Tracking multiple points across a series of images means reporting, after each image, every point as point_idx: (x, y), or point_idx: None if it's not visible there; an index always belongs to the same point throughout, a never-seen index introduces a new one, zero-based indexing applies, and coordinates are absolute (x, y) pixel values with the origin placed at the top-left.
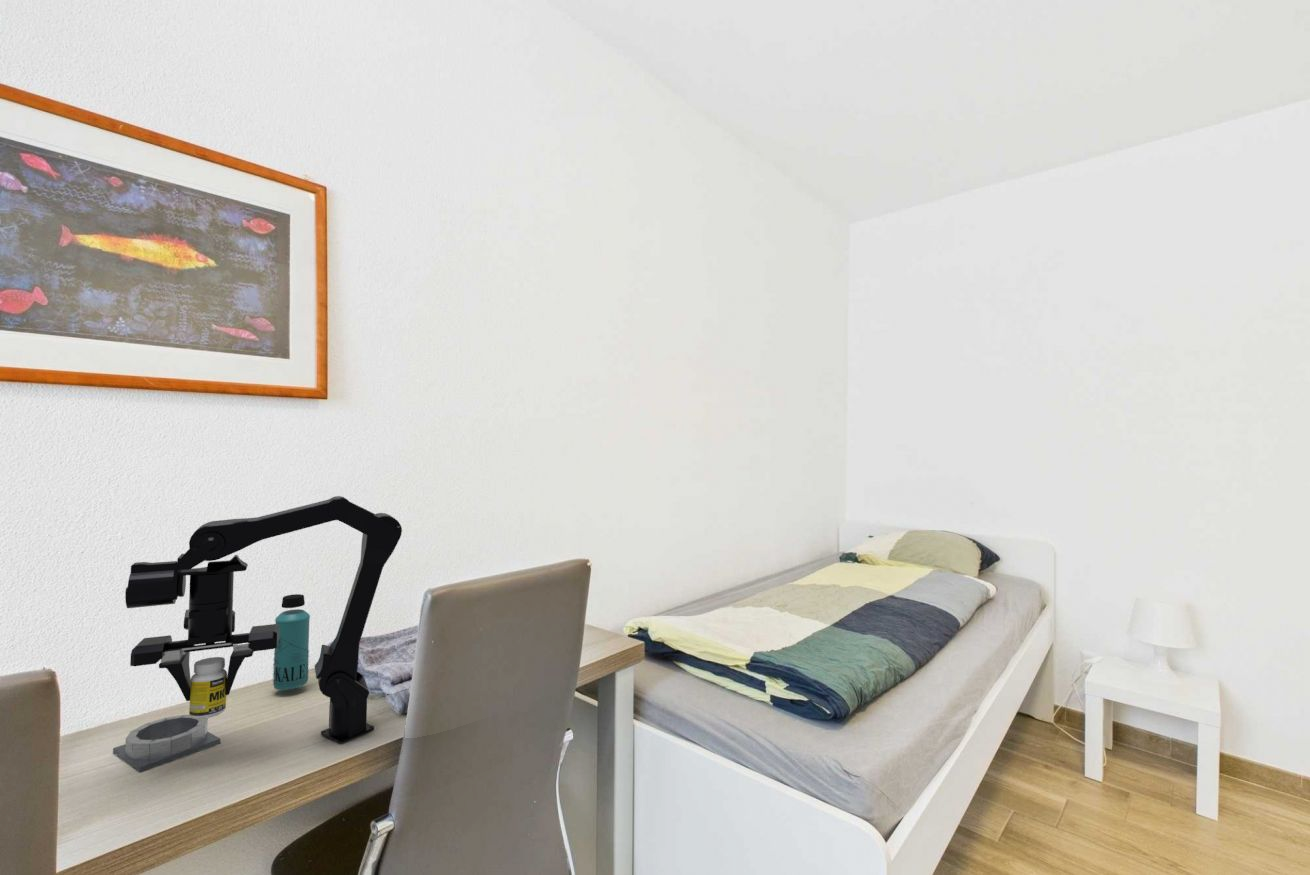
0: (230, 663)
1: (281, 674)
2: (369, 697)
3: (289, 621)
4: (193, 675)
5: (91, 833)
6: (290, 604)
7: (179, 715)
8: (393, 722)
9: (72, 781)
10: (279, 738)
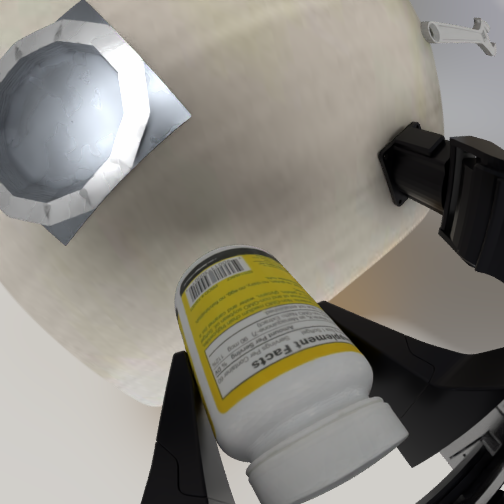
0: (399, 444)
1: None
2: (426, 37)
3: None
4: (239, 460)
5: (133, 382)
6: None
7: (48, 27)
8: None
9: None
10: (317, 135)
